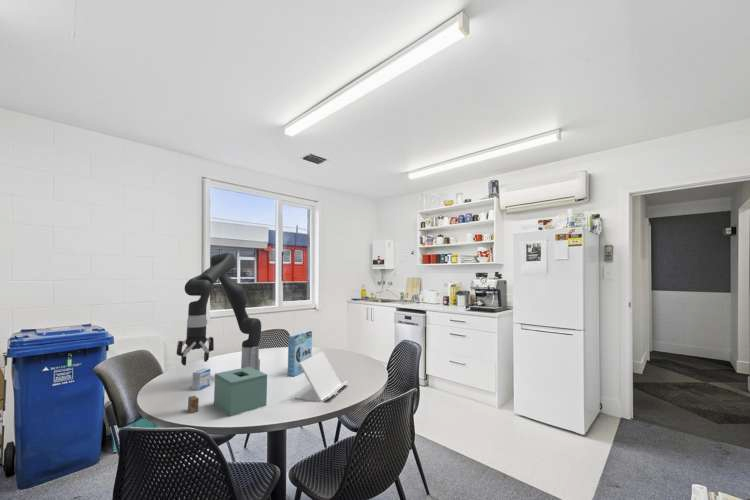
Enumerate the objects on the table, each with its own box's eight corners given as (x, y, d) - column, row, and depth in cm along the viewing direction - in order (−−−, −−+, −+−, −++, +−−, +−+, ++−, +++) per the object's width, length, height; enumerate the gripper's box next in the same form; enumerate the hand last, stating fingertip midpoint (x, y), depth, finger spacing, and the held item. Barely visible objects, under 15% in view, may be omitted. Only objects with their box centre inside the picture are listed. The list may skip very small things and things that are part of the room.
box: (248, 395, 162) (249, 366, 163) (266, 405, 149) (267, 374, 150) (213, 404, 150) (215, 373, 151) (230, 416, 138) (231, 382, 139)
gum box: (294, 376, 191) (295, 336, 193) (286, 375, 193) (287, 335, 195) (311, 368, 210) (312, 331, 211) (304, 367, 211) (305, 330, 213)
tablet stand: (294, 398, 158) (295, 362, 159) (317, 382, 182) (318, 350, 183) (329, 403, 153) (329, 365, 154) (348, 385, 177) (348, 353, 178)
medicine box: (199, 390, 168) (200, 372, 169) (191, 389, 169) (192, 372, 170) (210, 385, 176) (210, 368, 176) (202, 384, 177) (203, 368, 177)
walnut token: (194, 408, 146) (194, 395, 146) (198, 411, 142) (198, 398, 143) (187, 410, 144) (188, 396, 144) (191, 413, 140) (192, 399, 141)
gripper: (210, 322, 153) (209, 358, 152) (175, 326, 143) (174, 364, 142) (216, 324, 148) (215, 361, 147) (181, 328, 138) (179, 368, 137)
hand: (195, 363), depth 145 cm, fingers open, 8 cm apart
